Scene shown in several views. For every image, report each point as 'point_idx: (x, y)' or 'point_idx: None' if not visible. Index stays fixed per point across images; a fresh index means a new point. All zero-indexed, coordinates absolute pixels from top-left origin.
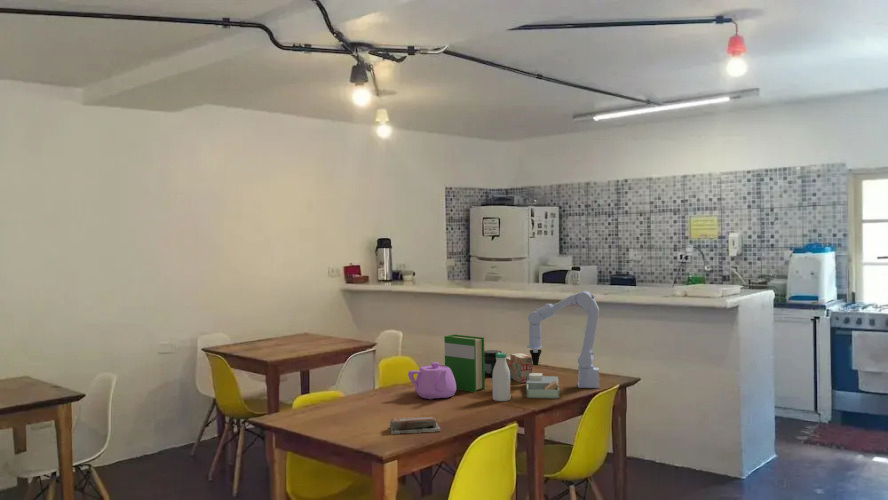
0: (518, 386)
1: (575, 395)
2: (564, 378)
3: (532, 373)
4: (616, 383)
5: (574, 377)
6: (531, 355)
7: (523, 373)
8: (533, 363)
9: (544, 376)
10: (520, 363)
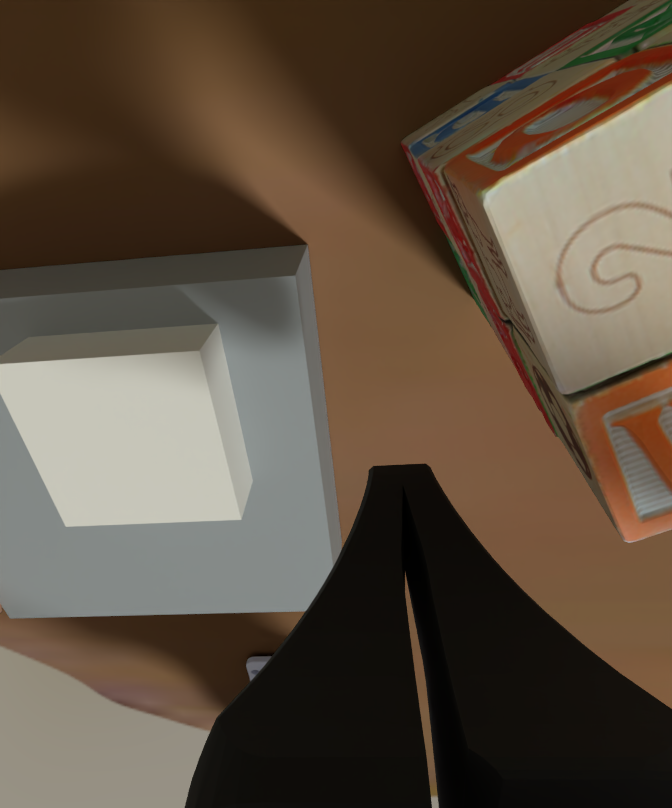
0: (167, 131)
1: (6, 635)
2: (637, 581)
3: (177, 400)
4: (431, 795)
5: (666, 640)
6: (282, 643)
7: (437, 205)
8: (365, 493)
9: (313, 499)
10: (460, 160)
